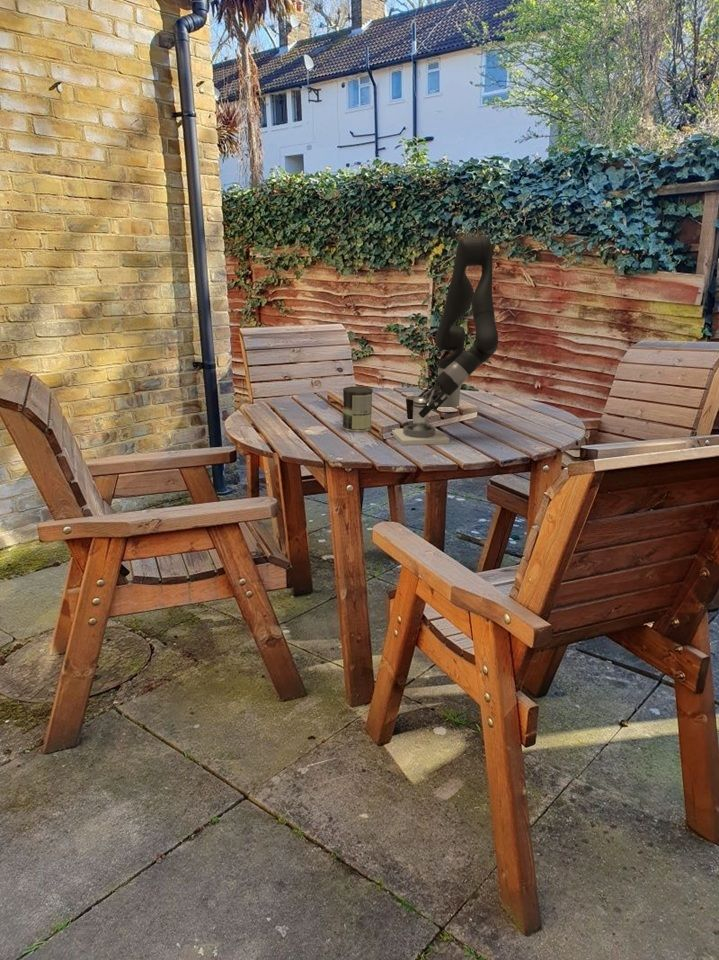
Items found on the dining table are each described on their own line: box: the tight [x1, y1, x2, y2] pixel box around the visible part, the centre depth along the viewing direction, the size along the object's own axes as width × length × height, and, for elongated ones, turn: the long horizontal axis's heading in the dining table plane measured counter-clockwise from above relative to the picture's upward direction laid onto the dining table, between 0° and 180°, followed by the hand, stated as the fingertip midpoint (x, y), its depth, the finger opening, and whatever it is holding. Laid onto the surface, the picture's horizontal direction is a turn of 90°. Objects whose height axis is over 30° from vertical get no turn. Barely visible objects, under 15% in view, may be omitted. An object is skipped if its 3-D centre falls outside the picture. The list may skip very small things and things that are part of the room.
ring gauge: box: [392, 424, 451, 446], centre depth 228 cm, size 16×16×4 cm
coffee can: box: [342, 386, 374, 433], centre depth 237 cm, size 10×10×14 cm
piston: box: [412, 397, 429, 431], centre depth 226 cm, size 5×5×12 cm
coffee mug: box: [405, 395, 419, 419], centre depth 246 cm, size 12×9×10 cm
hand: (416, 413), depth 225 cm, fingers open, 8 cm apart
